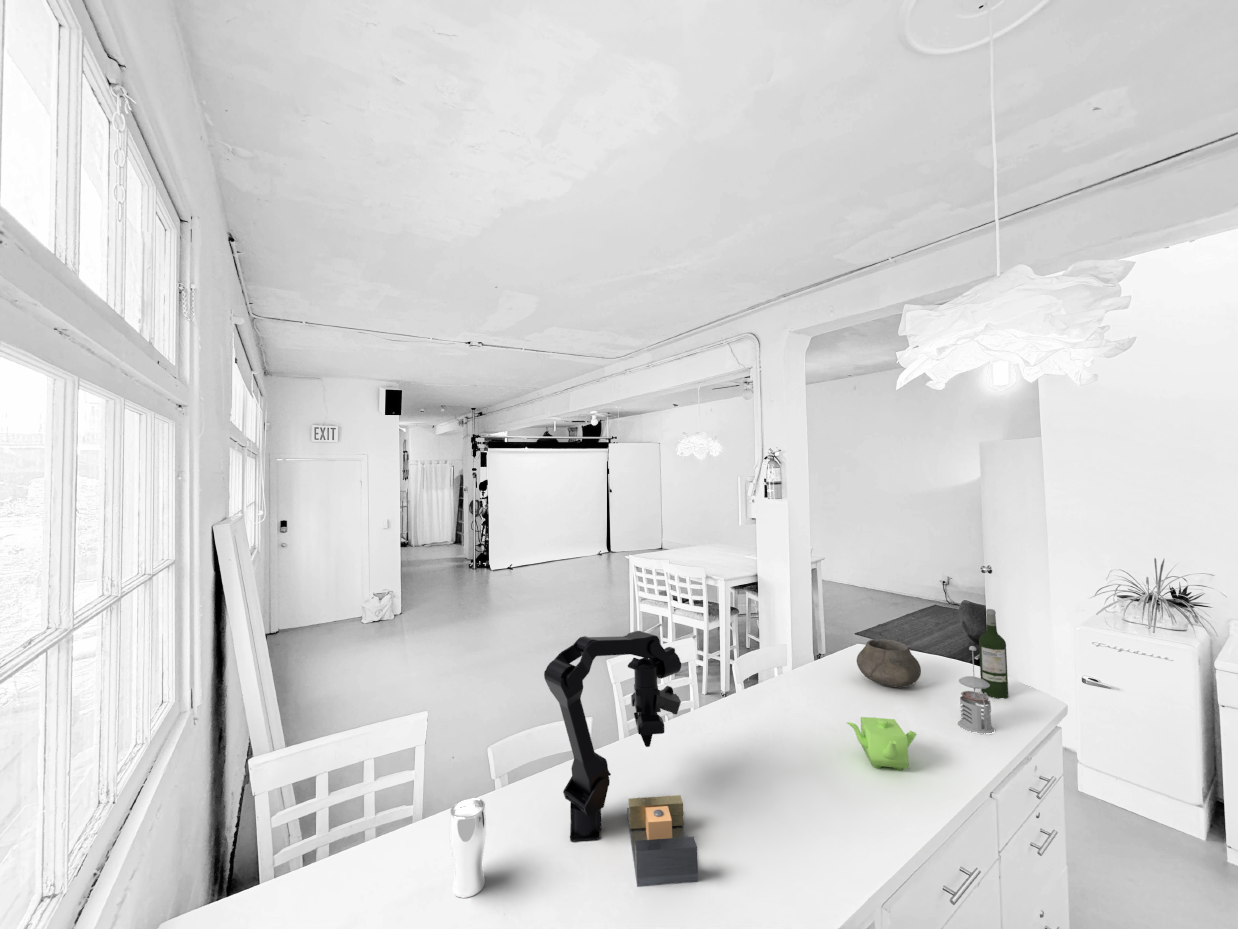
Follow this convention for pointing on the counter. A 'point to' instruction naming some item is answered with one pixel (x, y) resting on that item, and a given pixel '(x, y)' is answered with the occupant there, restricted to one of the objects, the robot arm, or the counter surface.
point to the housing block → (658, 823)
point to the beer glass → (468, 846)
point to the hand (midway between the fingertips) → (647, 746)
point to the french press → (969, 707)
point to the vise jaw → (639, 806)
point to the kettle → (884, 742)
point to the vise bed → (664, 857)
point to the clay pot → (888, 663)
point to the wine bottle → (993, 659)
